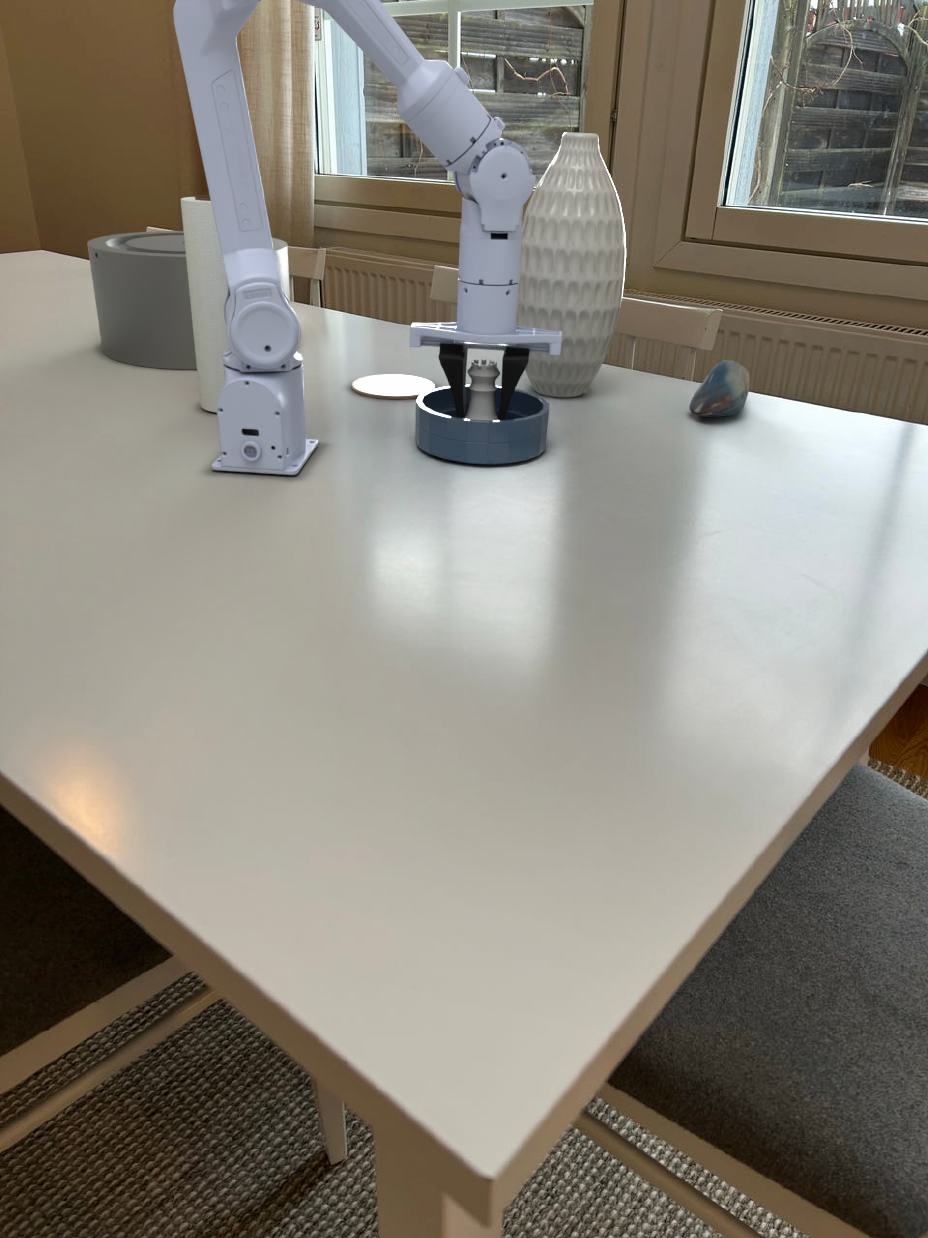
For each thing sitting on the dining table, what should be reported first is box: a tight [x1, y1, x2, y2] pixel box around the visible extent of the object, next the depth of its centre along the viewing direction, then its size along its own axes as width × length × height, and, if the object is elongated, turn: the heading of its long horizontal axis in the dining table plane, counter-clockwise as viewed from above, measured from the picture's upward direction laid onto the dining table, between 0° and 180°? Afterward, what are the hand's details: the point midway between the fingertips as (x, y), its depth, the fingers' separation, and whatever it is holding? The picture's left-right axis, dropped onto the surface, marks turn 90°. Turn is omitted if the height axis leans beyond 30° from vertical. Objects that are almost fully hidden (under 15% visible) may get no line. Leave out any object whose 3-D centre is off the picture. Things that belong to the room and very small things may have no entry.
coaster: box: [351, 373, 436, 400], centre depth 115 cm, size 10×10×1 cm
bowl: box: [414, 384, 550, 466], centre depth 96 cm, size 13×13×4 cm
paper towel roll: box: [180, 194, 230, 413], centre depth 100 cm, size 7×6×21 cm
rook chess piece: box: [465, 358, 501, 421], centre depth 94 cm, size 4×4×8 cm
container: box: [86, 230, 291, 370], centre depth 126 cm, size 25×25×13 cm
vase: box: [516, 131, 627, 399], centre depth 110 cm, size 13×13×28 cm
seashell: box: [688, 359, 751, 418], centre depth 109 cm, size 6×9×10 cm
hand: (481, 422), depth 95 cm, fingers closed on rook chess piece, 3 cm apart
